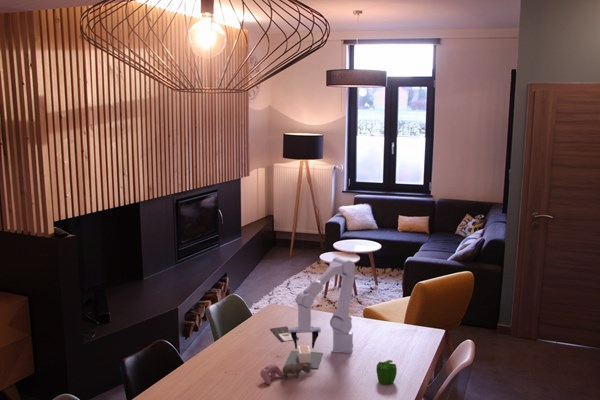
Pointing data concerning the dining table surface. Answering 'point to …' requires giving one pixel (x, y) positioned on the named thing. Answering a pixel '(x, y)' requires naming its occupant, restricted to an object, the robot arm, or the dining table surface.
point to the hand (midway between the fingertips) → (304, 347)
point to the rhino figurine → (295, 369)
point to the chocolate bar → (282, 334)
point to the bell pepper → (386, 372)
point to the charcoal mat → (295, 360)
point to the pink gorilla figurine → (272, 370)
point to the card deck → (304, 354)
